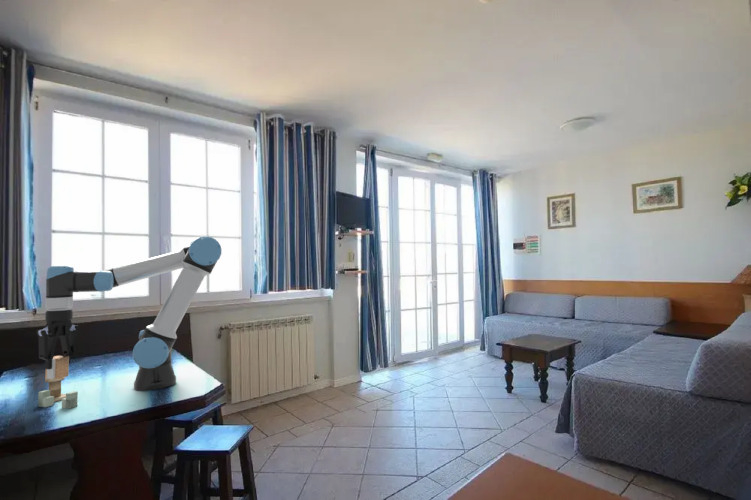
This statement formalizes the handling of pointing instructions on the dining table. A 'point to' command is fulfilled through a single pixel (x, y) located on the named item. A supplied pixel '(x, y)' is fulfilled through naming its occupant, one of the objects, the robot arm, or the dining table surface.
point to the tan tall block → (60, 367)
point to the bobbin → (56, 388)
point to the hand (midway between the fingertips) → (57, 376)
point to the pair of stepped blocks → (48, 400)
